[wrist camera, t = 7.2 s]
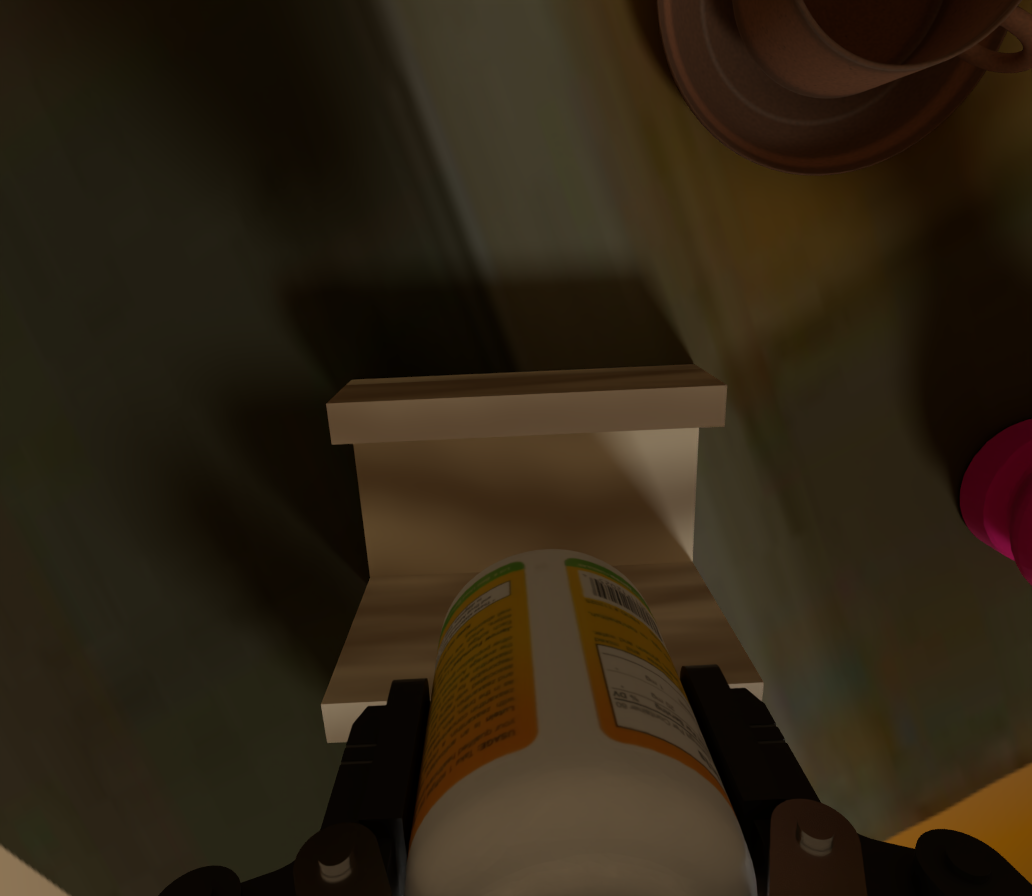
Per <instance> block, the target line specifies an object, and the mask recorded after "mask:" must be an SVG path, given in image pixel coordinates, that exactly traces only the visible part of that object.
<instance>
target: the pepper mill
mask: <svg viewBox="0 0 1032 896" xmlns="http://www.w3.org/2000/svg"><path fill="white" fill-rule="evenodd" d="M960 508H961V513H962V517H963V519H964V521H965V523H966V525H967V527H968V528H969V530H970V531H971V532H972V533H973V534H974V535H975V536H976V537H977V538H978V539H980V540H981V541H982V542H984V543H985V544H987V545H989V546H990V547H992V548H993V549H995V550H997V551H998V552H1000V553H1002V554H1003V555H1005V556H1006V557H1008V558H1010V559H1012V560H1015V562H1016V564H1017V566H1018V568H1019V570H1020V572H1021V573H1022V575H1023V576H1024V578H1025V579H1026V580H1027V581H1028V582H1029V583H1030V585H1032V419H1028V420H1025V421H1022V422H1020V423H1017V424H1015V425H1012V426H1010V427H1007V428H1006V429H1004V430H1003V431H1001V432H1000V433H998V434H997V435H996V436H994V437H993V438H991V439H990V440H989V441H987V442H986V444H985V445H984V446H983V447H982V448H981V449H980V450H979V452H978V453H977V454H976V455H975V456H974V457H973V459H972V461H971V463H970V465H969V466H968V468H967V470H966V472H965V474H964V476H963V480H962V484H961V489H960Z"/></svg>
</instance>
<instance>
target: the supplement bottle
mask: <svg viewBox="0 0 1032 896" xmlns="http://www.w3.org/2000/svg"><path fill="white" fill-rule="evenodd" d="M404 896H758V895H757V883H756V877H755V872H754V867H753V862H752V859H751V856H750V853H749V850H748V847H747V844H746V842H745V839H744V836H743V833H742V830H741V827H740V825H739V822H738V820H737V817H736V815H735V812H734V810H733V807H732V805H731V803H730V800H729V798H728V796H727V793H726V791H725V789H724V786H723V784H722V781H721V779H720V776H719V774H718V772H717V769H716V767H715V764H714V762H713V760H712V757H711V755H710V752H709V750H708V748H707V745H706V743H705V740H704V738H703V735H702V733H701V731H700V728H699V726H698V723H697V721H696V718H695V715H694V713H693V710H692V708H691V706H690V703H689V701H688V698H687V696H686V694H685V691H684V689H683V686H682V684H681V681H680V679H679V676H678V674H677V672H676V669H675V667H674V665H673V662H672V660H671V657H670V655H669V652H668V650H667V647H666V645H665V642H664V640H663V638H662V635H661V633H660V631H659V628H658V626H657V624H656V621H655V619H654V617H653V615H652V613H651V611H650V609H649V607H648V605H647V603H646V601H645V600H644V598H643V596H642V595H641V593H640V592H639V591H638V589H637V588H636V587H635V586H634V585H633V584H632V582H631V581H630V580H629V579H628V578H627V577H626V576H624V575H623V574H622V573H621V572H619V571H618V570H617V569H615V568H614V567H612V566H611V565H609V564H607V563H606V562H604V561H602V560H600V559H597V558H595V557H593V556H590V555H587V554H584V553H580V552H576V551H571V550H562V549H542V550H533V551H528V552H523V553H520V554H516V555H513V556H510V557H507V558H505V559H503V560H500V561H498V562H496V563H494V564H492V565H491V566H489V567H487V568H486V569H484V570H483V571H481V572H480V573H479V574H477V575H476V576H475V577H474V578H473V579H471V580H470V581H469V582H468V583H467V584H466V585H465V586H464V587H463V588H462V590H461V591H460V592H459V593H458V595H457V596H456V598H455V599H454V601H453V602H452V604H451V606H450V608H449V610H448V612H447V614H446V617H445V619H444V623H443V627H442V630H441V635H440V639H439V644H438V651H437V657H436V664H435V672H434V680H433V686H432V693H431V700H430V707H429V713H428V720H427V726H426V733H425V740H424V747H423V754H422V761H421V768H420V774H419V781H418V787H417V795H416V802H415V809H414V815H413V822H412V829H411V835H410V840H409V850H408V858H407V865H406V881H405V889H404Z"/></svg>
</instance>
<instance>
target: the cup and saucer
mask: <svg viewBox="0 0 1032 896" xmlns="http://www.w3.org/2000/svg"><path fill="white" fill-rule="evenodd" d="M1021 1H1022V0H656V5H657V15H658V25H659V30H660V36H661V41H662V46H663V49H664V53H665V56H666V60H667V63H668V66H669V69H670V71H671V74H672V76H673V79H674V81H675V83H676V85H677V87H678V89H679V91H680V93H681V95H682V97H683V98H684V100H685V102H686V103H687V105H688V106H689V108H690V110H691V111H692V112H693V114H694V115H695V116H696V117H697V119H698V120H699V121H700V123H701V124H702V125H703V126H704V127H705V128H706V129H707V130H708V131H709V132H710V133H711V134H712V135H713V136H714V137H715V138H716V139H718V140H719V141H720V142H721V143H722V144H724V145H725V146H726V147H728V148H729V149H731V150H732V151H734V152H735V153H737V154H738V155H740V156H742V157H744V158H746V159H748V160H750V161H752V162H754V163H756V164H759V165H762V166H764V167H767V168H770V169H773V170H777V171H781V172H785V173H791V174H799V175H832V174H840V173H846V172H851V171H855V170H859V169H862V168H866V167H869V166H872V165H874V164H877V163H879V162H882V161H884V160H887V159H889V158H891V157H893V156H895V155H897V154H899V153H901V152H903V151H904V150H906V149H908V148H909V147H911V146H912V145H914V144H915V143H917V142H919V141H920V140H921V139H923V138H924V137H925V136H927V135H928V134H929V133H931V132H932V131H933V130H935V129H936V128H937V127H938V126H939V125H940V124H941V123H942V122H943V121H945V120H946V119H947V118H948V117H949V116H950V115H951V114H952V113H953V112H954V111H955V110H956V109H957V108H958V107H959V105H960V104H961V103H962V102H963V101H964V100H965V99H966V97H967V96H968V95H969V94H970V92H971V91H972V90H973V89H974V88H975V86H976V85H977V83H978V82H979V81H980V79H981V78H982V76H983V75H984V73H985V72H986V70H988V71H992V72H999V73H1016V72H1022V71H1026V70H1029V69H1031V68H1032V15H1030V14H1029V13H1028V12H1026V11H1025V10H1023V9H1022V8H1020V7H1018V4H1019V3H1020V2H1021ZM1007 31H1009V32H1011V33H1012V34H1013V35H1014V36H1016V37H1017V38H1018V39H1019V40H1020V41H1021V43H1022V45H1023V50H1022V51H1020V52H1017V53H1000V52H998V50H999V48H1000V46H1001V43H1002V41H1003V39H1004V37H1005V35H1006V33H1007Z"/></svg>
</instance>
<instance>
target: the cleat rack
mask: <svg viewBox="0 0 1032 896" xmlns="http://www.w3.org/2000/svg"><path fill="white" fill-rule="evenodd" d="M726 394H727V385H726V384H724V383H723V382H721V381H720V380H718V379H717V378H715V377H714V376H712V375H710V374H709V373H707V372H706V371H704V370H703V369H701V368H700V367H698V366H697V365H695V364H685V365H663V366H641V367H619V368H597V369H575V370H554V371H532V372H510V373H488V374H466V375H444V376H422V377H400V378H378V379H356V380H351V381H350V382H349V383H348V384H346V385H345V386H344V387H343V388H342V389H341V390H340V391H339V392H338V393H337V394H336V395H335V396H334V397H333V398H332V399H331V400H329V401H328V402H327V403H326V406H327V414H328V421H329V428H330V436H331V443H332V445H336V444H353V445H354V453H355V461H356V469H357V477H358V485H359V493H360V501H361V509H362V517H363V525H364V533H365V541H366V549H367V557H368V564H369V572H370V579H369V582H368V584H367V587H366V589H365V592H364V595H363V597H362V600H361V602H360V605H359V608H358V610H357V613H356V615H355V618H354V620H353V623H352V626H351V628H350V631H349V633H348V636H347V639H346V641H345V644H344V646H343V649H342V651H341V654H340V657H339V659H338V662H337V664H336V667H335V670H334V672H333V675H332V677H331V680H330V682H329V685H328V688H327V690H326V693H325V695H324V698H323V701H322V703H321V707H322V713H323V719H324V726H325V732H326V738H327V743H335V742H347V740H348V737H349V734H350V731H351V727H352V724H353V723H354V722H355V720H356V719H357V718H358V717H359V716H360V715H361V713H362V712H363V711H364V710H365V709H366V707H367V706H378V705H386V704H387V699H388V695H389V691H390V687H391V683H392V681H393V680H398V679H417V678H427V679H428V684H429V693H430V700H431V693H432V686H433V680H434V672H435V664H436V657H437V651H438V644H439V639H440V635H441V630H442V627H443V623H444V619H445V617H446V614H447V612H448V610H449V608H450V606H451V604H452V602H453V601H454V599H455V598H456V596H457V595H458V593H459V592H460V591H461V590H462V588H463V587H464V586H465V585H466V584H467V583H468V582H469V581H470V580H471V579H473V578H474V577H475V576H476V575H477V574H479V573H480V572H481V571H483V570H484V569H486V568H487V567H489V566H491V565H492V564H494V563H496V562H498V561H500V560H503V559H505V558H507V557H510V556H513V555H516V554H520V553H523V552H528V551H533V550H542V549H562V550H571V551H576V552H580V553H584V554H587V555H590V556H593V557H595V558H597V559H600V560H602V561H604V562H606V563H607V564H609V565H611V566H612V567H614V568H615V569H617V570H618V571H619V572H621V573H622V574H623V575H624V576H626V577H627V578H628V579H629V580H630V581H631V582H632V584H633V585H634V586H635V587H636V588H637V589H638V591H639V592H640V593H641V595H642V596H643V598H644V600H645V601H646V603H647V605H648V607H649V609H650V611H651V613H652V615H653V617H654V619H655V621H656V624H657V626H658V628H659V631H660V633H661V635H662V638H663V640H664V642H665V645H666V647H667V650H668V652H669V655H670V657H671V660H672V662H673V665H674V667H675V669H676V672H677V674H678V676H679V679H680V671H681V667H682V666H690V665H710V664H717V665H718V666H719V667H720V669H721V671H722V673H723V675H724V677H725V679H726V681H727V683H728V685H729V687H730V688H746V689H748V690H749V691H750V692H751V693H752V694H754V695H755V696H756V697H757V698H758V699H759V700H761V701H762V695H763V684H764V682H763V681H762V679H761V677H760V675H759V674H758V672H757V670H756V669H755V667H754V665H753V664H752V662H751V660H750V659H749V657H748V655H747V653H746V652H745V650H744V648H743V647H742V645H741V643H740V642H739V640H738V638H737V637H736V635H735V633H734V631H733V630H732V628H731V626H730V625H729V623H728V621H727V620H726V618H725V616H724V615H723V613H722V611H721V610H720V608H719V606H718V604H717V603H716V601H715V599H714V598H713V596H712V594H711V593H710V591H709V589H708V588H707V586H706V584H705V582H704V581H703V579H702V577H701V576H700V574H699V572H698V571H697V569H696V567H695V566H694V564H693V562H692V560H693V539H694V518H695V497H696V476H697V455H698V435H699V428H702V427H723V426H725V410H726Z"/></svg>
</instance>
